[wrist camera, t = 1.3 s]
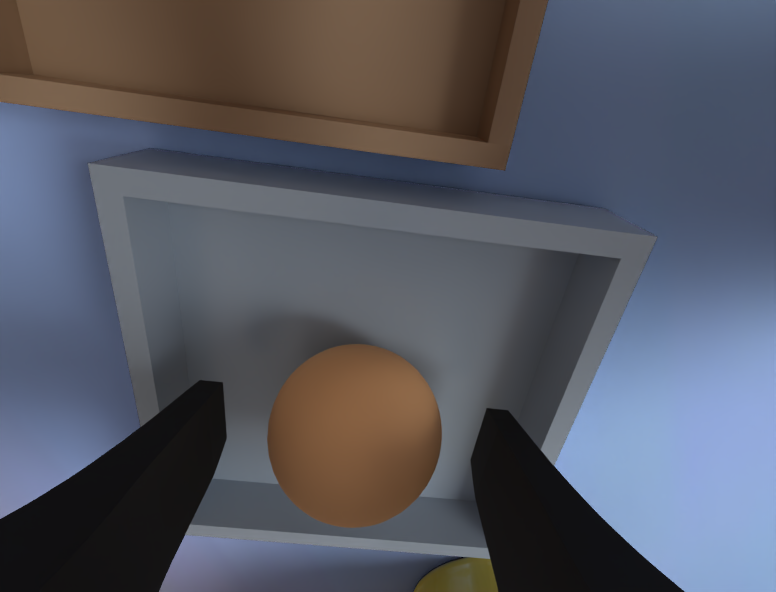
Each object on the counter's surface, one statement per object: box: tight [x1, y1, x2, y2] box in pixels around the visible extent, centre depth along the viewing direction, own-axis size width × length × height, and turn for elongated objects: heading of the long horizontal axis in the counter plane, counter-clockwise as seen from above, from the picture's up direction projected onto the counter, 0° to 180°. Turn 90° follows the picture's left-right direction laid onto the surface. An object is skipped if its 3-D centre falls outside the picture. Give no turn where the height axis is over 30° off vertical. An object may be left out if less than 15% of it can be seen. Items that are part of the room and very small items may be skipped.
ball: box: [267, 344, 442, 528], centre depth 11 cm, size 5×5×5 cm
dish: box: [88, 148, 657, 559], centre depth 12 cm, size 12×12×2 cm
